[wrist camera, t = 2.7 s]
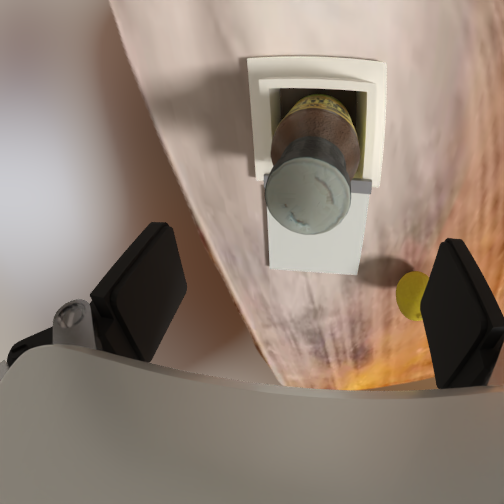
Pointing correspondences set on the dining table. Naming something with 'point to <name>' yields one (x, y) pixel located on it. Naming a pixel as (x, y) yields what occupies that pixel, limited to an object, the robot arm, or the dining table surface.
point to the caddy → (322, 77)
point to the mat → (321, 244)
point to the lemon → (411, 294)
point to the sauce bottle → (312, 166)
